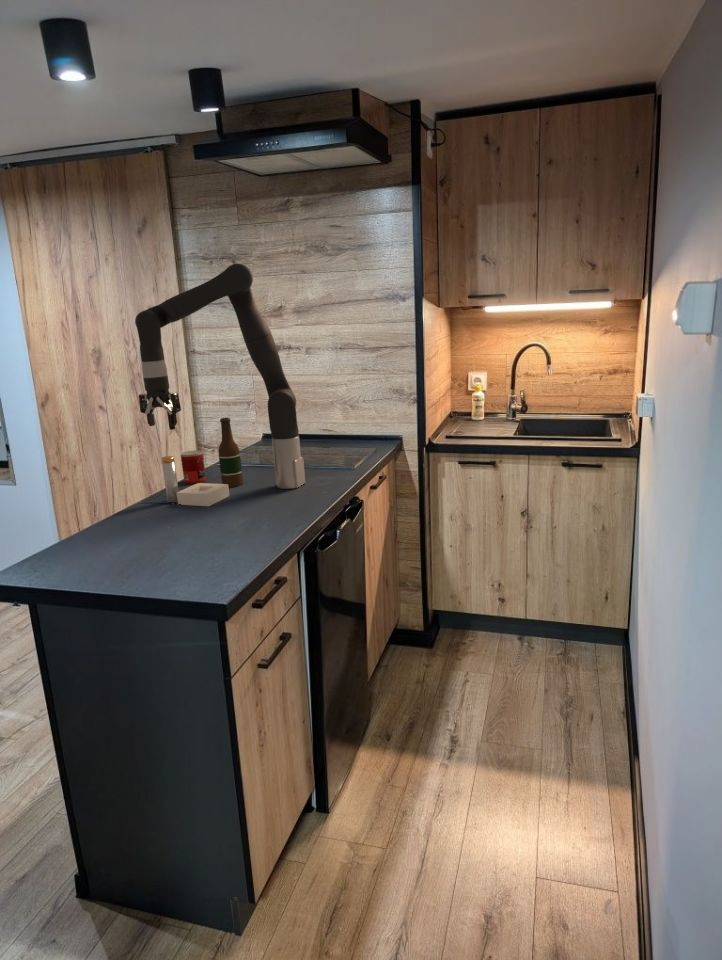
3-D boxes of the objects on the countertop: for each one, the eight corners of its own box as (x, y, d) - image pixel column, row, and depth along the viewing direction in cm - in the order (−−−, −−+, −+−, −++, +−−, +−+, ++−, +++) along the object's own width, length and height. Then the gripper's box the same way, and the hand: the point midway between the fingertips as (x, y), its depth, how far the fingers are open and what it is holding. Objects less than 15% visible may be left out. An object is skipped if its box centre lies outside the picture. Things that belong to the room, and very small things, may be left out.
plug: (182, 499, 225) (176, 456, 222) (175, 503, 222) (168, 458, 218) (172, 499, 227) (166, 455, 223) (165, 502, 223) (158, 458, 220)
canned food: (203, 483, 245) (199, 454, 242) (181, 485, 245) (177, 455, 243) (208, 478, 252) (204, 449, 250) (187, 479, 253) (183, 451, 250)
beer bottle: (246, 481, 244) (238, 415, 238) (240, 487, 236) (232, 419, 230) (225, 482, 245) (217, 416, 239) (219, 488, 237) (210, 420, 231)
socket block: (229, 495, 226) (228, 484, 225) (208, 506, 216) (207, 494, 215) (199, 494, 231) (198, 482, 230) (178, 504, 220) (176, 492, 219)
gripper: (181, 373, 214) (188, 423, 219) (145, 374, 220) (152, 423, 224) (166, 376, 208) (173, 428, 212) (129, 377, 213) (137, 428, 217)
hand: (162, 425), depth 218 cm, fingers open, 8 cm apart
